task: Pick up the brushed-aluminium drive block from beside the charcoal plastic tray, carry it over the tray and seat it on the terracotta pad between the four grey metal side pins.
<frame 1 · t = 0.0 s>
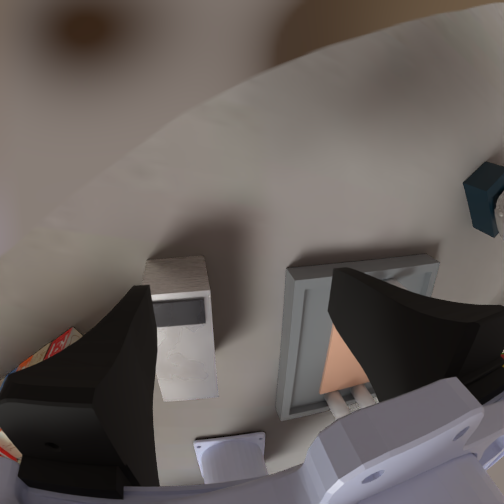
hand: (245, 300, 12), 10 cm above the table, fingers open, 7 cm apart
stack of blocks: (34, 388, 24), on the table
drive: (181, 311, 23), on the table
tray: (351, 337, 28), on the table
watch: (479, 193, 26), on the table
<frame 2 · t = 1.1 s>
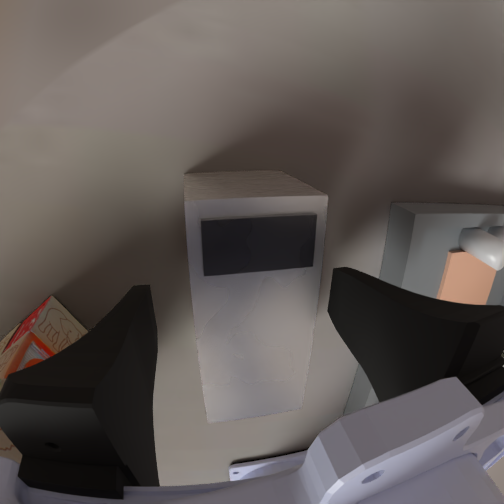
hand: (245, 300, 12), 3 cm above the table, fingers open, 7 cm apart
stack of blocks: (6, 394, 15), on the table
drive: (233, 269, 15), on the table
tray: (445, 312, 19), on the table
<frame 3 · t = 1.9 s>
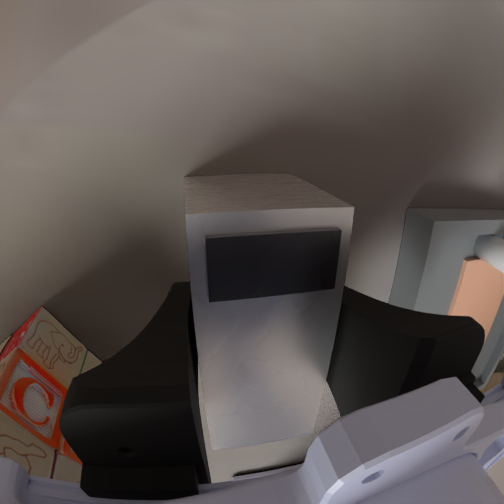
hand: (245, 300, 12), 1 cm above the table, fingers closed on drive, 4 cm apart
stack of blocks: (2, 407, 14), on the table
drive: (238, 282, 13), on the table, touching gripper
tray: (456, 321, 18), on the table
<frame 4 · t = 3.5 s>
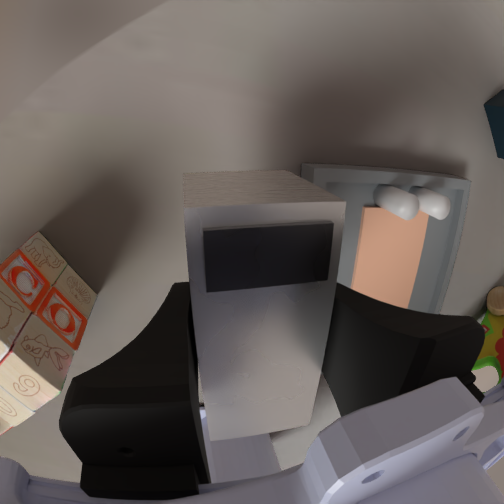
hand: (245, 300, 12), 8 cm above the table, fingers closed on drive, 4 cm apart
stack of blocks: (0, 333, 19), on the table
drive: (236, 276, 14), point 6 cm above the table, touching gripper
tray: (377, 270, 23), on the table
toy lion: (470, 321, 30), on the table
watch: (500, 121, 21), on the table
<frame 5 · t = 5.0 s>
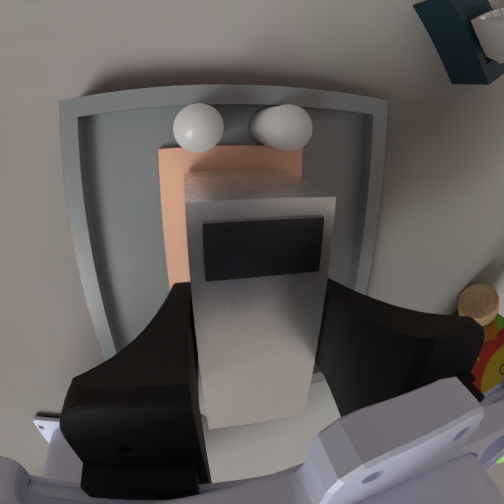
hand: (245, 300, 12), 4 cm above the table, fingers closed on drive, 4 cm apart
drive: (234, 270, 14), point 2 cm above the table, touching gripper
tray: (229, 255, 16), on the table
toy lion: (433, 333, 23), on the table
watch: (449, 35, 13), on the table
when the fingers open (4 cm above the table, at t = 5.5 s): drive stays where it is, resting on tray.
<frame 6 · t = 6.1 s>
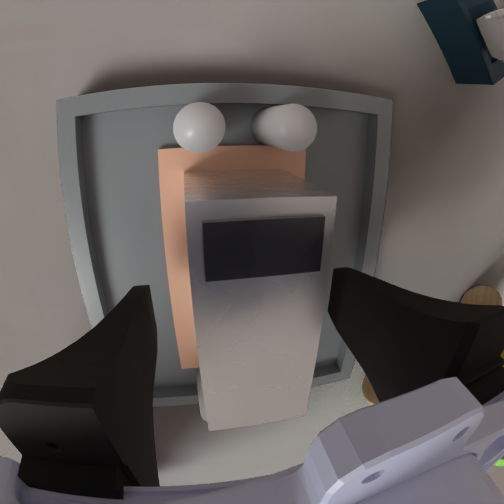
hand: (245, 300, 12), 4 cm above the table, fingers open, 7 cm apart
drive: (235, 271, 14), point 1 cm above the table, touching tray
tray: (230, 258, 16), on the table
toy lion: (436, 335, 22), on the table
watch: (454, 34, 13), on the table
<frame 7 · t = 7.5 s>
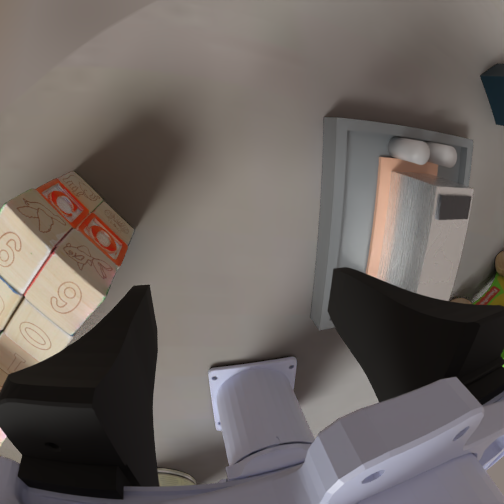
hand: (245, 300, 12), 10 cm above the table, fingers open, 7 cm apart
stack of blocks: (30, 294, 21), on the table
drive: (404, 228, 23), point 1 cm above the table, touching tray
tray: (393, 222, 25), on the table
coffee can: (160, 481, 34), on the table
toy lion: (480, 284, 31), on the table
watch: (496, 92, 22), on the table
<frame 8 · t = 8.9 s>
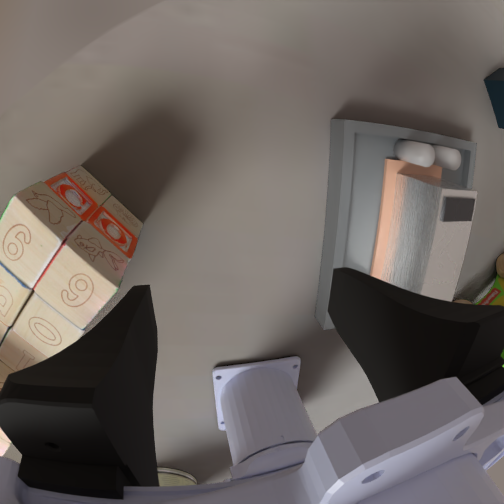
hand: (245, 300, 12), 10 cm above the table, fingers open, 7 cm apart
stack of blocks: (36, 291, 21), on the table
drive: (408, 229, 23), point 1 cm above the table, touching tray
tray: (397, 223, 25), on the table
coffee can: (161, 480, 34), on the table
toy lion: (481, 286, 32), on the table
watch: (499, 96, 22), on the table
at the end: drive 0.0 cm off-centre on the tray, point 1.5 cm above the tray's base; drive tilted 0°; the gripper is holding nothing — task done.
